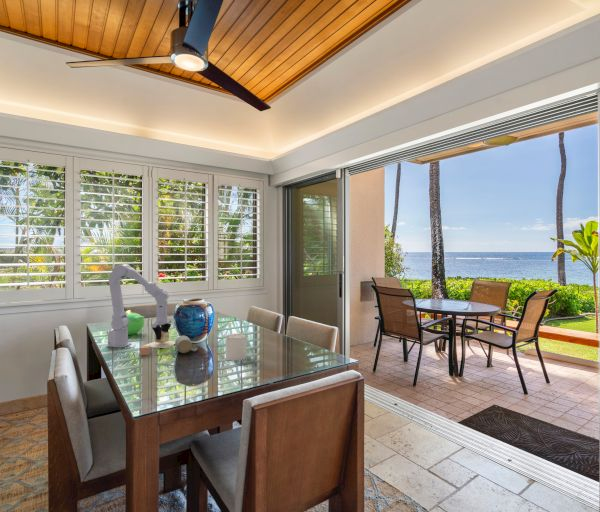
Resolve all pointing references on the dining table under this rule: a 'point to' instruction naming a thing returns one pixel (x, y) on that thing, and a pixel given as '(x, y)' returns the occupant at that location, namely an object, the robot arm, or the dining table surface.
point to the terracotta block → (145, 350)
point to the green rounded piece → (134, 322)
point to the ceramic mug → (184, 344)
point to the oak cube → (163, 337)
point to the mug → (236, 346)
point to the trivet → (160, 344)
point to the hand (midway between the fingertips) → (161, 338)
